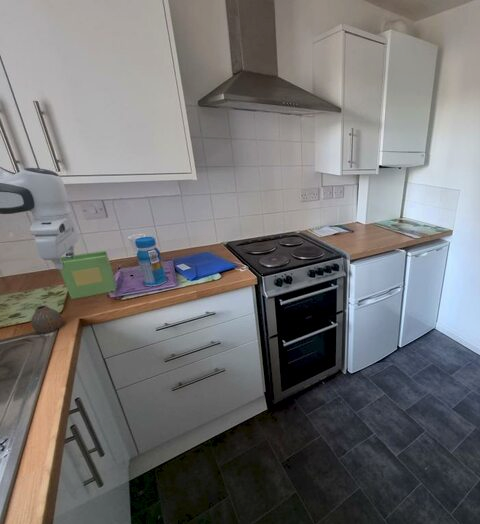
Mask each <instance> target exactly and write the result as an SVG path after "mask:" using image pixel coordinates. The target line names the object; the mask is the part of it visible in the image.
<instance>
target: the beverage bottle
mask: <svg viewBox="0 0 480 524" xmlns="http://www.w3.org/2000/svg"><path fill="white" fill-rule="evenodd" d="M137 238H138V239H136V240H134V241H135V243H136V246H137V248H138V249H139V250H138V252H137V255H136V258H137V259H138V260H137V263H138V265H139V266H140V267H139V268H140V271H141V274H142V278H143V284H144V286H146V287H150V288H152V286H153V287H158V286H161V285H164V284H165V283H167V277H166V272H165V269H164V268H165V267H164V265H163V258H162V256H161V251H160V250H159V248H157V242H156V239H155V237H154V236H146V237H141V238H139V237H137Z"/></svg>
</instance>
